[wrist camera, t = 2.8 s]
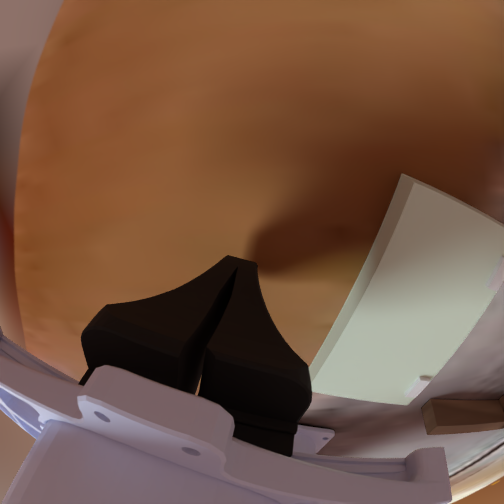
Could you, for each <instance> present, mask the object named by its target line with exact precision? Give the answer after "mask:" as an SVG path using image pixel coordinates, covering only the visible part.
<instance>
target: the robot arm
mask: <svg viewBox="0 0 504 504" xmlns="http://www.w3.org/2000/svg"><path fill="white" fill-rule="evenodd" d="M257 267H258V265H257V264H256V263H255V262H251V261H248V260H244V259H240V258H237V257H233V256H229V255H227V256H225V257H224V258H223V259H222V260H220V261H219V262H218V263H217V264H215V265H214V266H213V267H211V268H210V269H209V270H207V271H206V272H204V273H203V274H201V275H200V276H198V277H196V278H195V279H193V280H191V281H190V282H188V283H186V284H184V285H182V286H180V287H178V288H176V289H174V290H171V291H168V292H165V293H163V294H160V295H157V296H154V297H150V298H146V299H142V300H137V301H132V302H125V303H117V304H107V305H106V306H105V307H104V308H102V309H101V310H100V311H99V312H98V313H97V315H96V316H95V317H94V318H93V319H92V321H91V322H90V323H89V324H88V325H87V327H86V328H85V329H84V330H83V332H82V335H81V343H82V347H83V351H84V355H85V358H86V362H87V365H88V368H89V369H88V370H87V371H86V373H85V374H84V376H83V377H82V379H81V380H80V382H79V381H77V380H75V379H73V378H71V377H69V376H67V375H66V374H64V373H62V372H60V371H58V370H57V369H55V368H53V367H52V366H50V365H48V364H47V363H45V362H43V361H42V360H40V359H38V358H37V357H35V356H34V355H32V354H30V353H29V352H27V351H26V350H24V349H23V348H21V347H20V346H18V345H17V344H15V343H14V342H13V341H11V340H10V339H8V338H7V337H6V336H4V335H3V332H2V329H1V327H0V409H1V410H2V411H3V412H4V413H5V414H6V415H7V416H8V417H10V418H11V419H12V420H13V421H14V422H15V423H17V424H18V425H19V426H20V427H21V428H23V429H24V430H25V431H26V432H28V433H29V434H30V435H32V436H33V437H34V438H35V439H37V440H36V441H35V443H34V445H33V446H32V448H31V450H30V451H29V453H28V455H27V457H26V458H25V460H24V462H23V464H22V465H21V467H20V469H19V471H18V473H17V475H16V477H15V478H14V480H13V482H12V484H11V486H10V488H9V490H8V492H7V493H6V495H5V498H4V499H3V501H2V503H1V504H447V503H449V502H451V501H452V495H451V487H450V480H449V474H448V468H447V462H446V457H445V451H444V447H432V448H421V449H417V450H415V451H413V452H412V453H410V454H409V455H408V456H407V457H406V458H354V457H339V456H327V455H317V454H316V453H317V452H318V451H319V450H320V449H322V448H323V447H324V446H325V445H326V444H327V443H328V442H329V441H330V440H331V439H332V438H333V437H334V436H335V432H334V431H333V430H331V429H323V428H316V427H309V426H303V425H298V421H299V420H300V419H301V417H302V416H303V415H304V413H305V412H306V410H307V409H308V408H309V406H310V403H311V401H312V385H311V378H310V373H309V368H308V365H307V364H306V363H305V362H304V361H303V360H302V359H301V358H300V357H299V356H298V355H297V354H296V353H295V352H294V351H293V350H292V349H291V347H290V346H289V345H288V344H287V343H286V341H285V340H284V338H283V337H282V335H281V334H280V333H279V331H278V330H277V328H276V326H275V324H274V322H273V321H272V319H271V317H270V314H269V312H268V310H267V308H266V305H265V302H264V299H263V296H262V293H261V289H260V285H259V280H258V273H257ZM201 375H202V376H201ZM200 378H201V383H200V389H199V393H198V396H196V395H195V393H196V390H197V387H198V384H199V381H200Z"/></svg>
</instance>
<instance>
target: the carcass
mask: <svg viewBox="0 0 504 504" xmlns="http://www.w3.org/2000/svg"><path fill="white" fill-rule="evenodd" d="M421 409H422V413H423V418H424V423H425V427H426V432H427V435H438V434H457V433H470V432H480V431H488V430H496V429H503V428H504V395H503V396H502V397H501V398H500V399H499V400H444V399H430V400H429V401H428V402H427V403H426V404H425V405H424V406H423V407H422V408H421Z"/></svg>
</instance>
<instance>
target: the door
mask: <svg viewBox="0 0 504 504" xmlns="http://www.w3.org/2000/svg"><path fill="white" fill-rule="evenodd" d="M503 281H504V224H502V223H501V222H499V221H497V220H496V219H494V218H492V217H490V216H489V215H487V214H485V213H483V212H481V211H480V210H478V209H476V208H474V207H472V206H470V205H468V204H467V203H465V202H463V201H461V200H459V199H457V198H455V197H453V196H451V195H449V194H447V193H445V192H443V191H441V190H438V189H436V188H434V187H432V186H430V185H428V184H426V183H423V182H421V181H419V180H417V179H414V178H412V177H410V176H407V175H405V174H403V173H402V174H401V177H400V179H399V182H398V185H397V187H396V190H395V193H394V195H393V198H392V200H391V203H390V205H389V208H388V210H387V213H386V215H385V218H384V220H383V222H382V225H381V227H380V229H379V232H378V234H377V236H376V239H375V241H374V243H373V245H372V248H371V250H370V252H369V254H368V256H367V259H366V261H365V263H364V265H363V267H362V269H361V271H360V273H359V276H358V278H357V280H356V282H355V284H354V286H353V288H352V290H351V292H350V294H349V296H348V298H347V300H346V302H345V304H344V306H343V308H342V309H341V311H340V313H339V315H338V317H337V319H336V321H335V323H334V324H333V326H332V328H331V330H330V332H329V334H328V335H327V337H326V339H325V341H324V343H323V344H322V346H321V348H320V350H319V351H318V353H317V355H316V356H315V358H314V360H313V362H312V363H311V365H310V367H309V373H310V378H311V385H312V392H316V393H322V394H327V395H333V396H338V397H345V398H351V399H357V400H364V401H372V402H380V403H388V404H398V405H408V404H409V403H410V402H411V401H412V400H413V399H414V398H416V397H417V396H418V395H419V394H420V392H421V391H422V390H423V389H424V388H425V387H426V386H427V385H428V384H429V383H430V382H431V380H432V379H433V378H434V377H435V375H436V374H437V373H438V372H439V371H440V370H441V368H442V367H443V366H444V365H445V364H446V362H447V361H448V360H449V359H450V358H451V356H452V355H453V354H454V353H455V351H456V350H457V349H458V348H459V346H460V345H461V344H462V342H463V341H464V340H465V338H466V337H467V336H468V334H469V333H470V332H471V330H472V329H473V327H474V326H475V324H476V323H477V322H478V320H479V319H480V317H481V316H482V314H483V313H484V311H485V310H486V308H487V307H488V305H489V304H490V302H491V300H492V299H493V297H494V296H495V294H496V292H498V290H499V288H500V287H501V285H502V283H503Z"/></svg>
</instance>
